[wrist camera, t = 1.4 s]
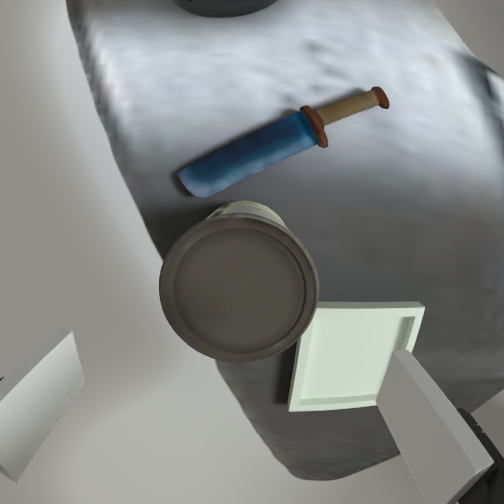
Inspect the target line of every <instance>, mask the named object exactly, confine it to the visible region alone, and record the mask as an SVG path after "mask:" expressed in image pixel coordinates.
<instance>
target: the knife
mask: <svg viewBox="0 0 504 504" xmlns="http://www.w3.org/2000/svg"><path fill="white" fill-rule="evenodd" d="M377 105H379V106H380V107H381V108H384V109H388V108H389V100H388V98H387V96H386V94H385V92H384V91H383V90H382V89H381V88H380V87H373V88H372V89H371V90H370V91H367V92H364V93H361V94H358V95H355V96H353V97H350V98H347V99H344V100H342V101H339V102H336V103H334V104H331V105H329V106H326V107H323V108H321V109H318V110H313V111H312V109H311V108H310V107H309V106H307V105H306V106H303V107H301V108H300V112H298V113H295V114H293V115H291V116H288V117H286V118H284V119H281V120H279V121H277V122H275V123H272V124H270V125H268V126H266V127H264V128H262V129H259V130H257V131H255V132H253V133H251V134H249V135H247V136H245V137H243V138H241V139H239V140H237V141H235V142H233V143H231V144H229V145H227V146H225V147H223V148H221V149H219V150H217V151H215V152H213V153H211V154H209V155H207V156H206V157H204V158H202V159H200V160H198V161H196V162H195V163H193V164H191V165H189V166H188V167H186V168H184V169H183V170H181V171H180V172H178V173H177V174H178V176H179V178H180V180H181V181H182V183H183V184H184V186H185V187H186V188H187V190H188V191H189V192H191V193H192V194H193V195H195V196H196V197H206V196H210V195H213V194H214V193H216V192H218V191H220V190H222V189H224V188H226V187H228V186H230V185H232V184H234V183H236V182H238V181H240V180H242V179H244V178H246V177H248V176H250V175H252V174H254V173H256V172H258V171H260V170H262V169H264V168H266V167H268V166H271V165H273V164H275V163H277V162H279V161H281V160H283V159H285V158H288V157H290V156H292V155H294V154H296V153H299V152H301V151H303V150H305V149H307V148H310V147H312V146H314V145H316V144H318V146H320V147H322V148H326V147H328V140H327V136H326V134H325V132H324V126H326V125H328V124H330V123H333V122H335V121H338V120H340V119H343V118H345V117H348V116H350V115H353V114H356V113H358V112H361V111H364V110H366V109H369V108H372V107H374V106H377Z"/></svg>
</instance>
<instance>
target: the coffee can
mask: <svg viewBox="0 0 504 504" xmlns="http://www.w3.org/2000/svg"><path fill="white" fill-rule="evenodd" d="M159 295H160V301H161V305H162V309H163V312H164V314H165V317H166V319H167V320H168V322H169V324H170V325H171V327H172V328H173V330H174V331H175V332H176V333H177V335H178V336H179V337H180V338H181V339H182V340H183V341H184V342H186V343H187V344H188V345H189V346H190V347H192V348H193V349H195V350H196V351H198V352H200V353H202V354H204V355H206V356H208V357H211V358H214V359H217V360H221V361H226V362H235V363H248V362H256V361H260V360H264V359H267V358H270V357H272V356H275V355H277V354H279V353H281V352H283V351H284V350H286V349H287V348H289V347H290V346H291V345H292V344H294V343H295V342H296V341H297V340H298V339H299V338H300V337H301V336H302V335H303V334H304V332H305V331H306V330H307V328H308V326H309V325H310V323H311V321H312V319H313V317H314V314H315V311H316V309H317V304H318V297H319V281H318V275H317V271H316V268H315V265H314V262H313V260H312V258H311V256H310V254H309V252H308V251H307V249H306V248H305V246H304V245H303V244H302V242H301V241H300V240H299V239H298V238H297V237H296V236H295V235H294V234H293V233H291V232H290V231H289V230H288V228H287V227H286V226H285V224H284V222H283V221H282V219H281V218H280V217H279V216H278V215H277V214H276V213H275V212H274V211H272V210H271V209H270V208H268V207H266V206H264V205H262V204H259V203H256V202H252V201H235V202H231V203H228V204H225V205H223V206H221V207H219V208H218V209H216V210H215V211H214V212H213V213H212V214H211V215H210V216H209V217H207V218H206V219H205V220H203V221H201V222H199V223H197V224H196V225H194V226H192V227H191V228H190V229H188V230H187V231H186V232H185V233H183V234H182V235H181V236H180V237H179V238H178V239H177V240H176V242H175V243H174V244H173V245H172V247H171V248H170V250H169V252H168V253H167V255H166V257H165V259H164V262H163V265H162V268H161V272H160V278H159Z"/></svg>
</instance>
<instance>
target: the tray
mask: <svg viewBox="0 0 504 504" xmlns="http://www.w3.org/2000/svg"><path fill="white" fill-rule="evenodd" d="M424 309H425V307H424V306H423V305H422V304H420V303H419V302H418V301H415V302H322V301H318V304H317V309H316V311H315V314H314V317H313V319H312V321H311V323H310V325H309V326H308V328H307V330H306V331H305V332H304V334H303V335H302V336H301V337H300V338H299V339H298V340H297V347H296V353H295V360H294V366H293V373H292V379H291V385H290V391H289V397H288V409H289V411H317V410H333V409H346V408H356V407H365V406H373V405H377V404H376V402H375V401H376V398H377V396H378V393H379V390H380V388H381V385H382V382H383V379H384V376H385V373H386V370H387V367H388V364H389V361H390V358H391V355H392V352H393V351H400V350H409V352H410V353H412V350H413V347H414V344H415V341H416V338H417V334H418V331H419V328H420V324H421V321H422V317H423V313H424Z"/></svg>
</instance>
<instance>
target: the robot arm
mask: <svg viewBox="0 0 504 504" xmlns="http://www.w3.org/2000/svg"><path fill="white" fill-rule="evenodd" d="M174 1H175V2H176V3H177V4H178V5H179V6H180V7H182V8H183V9H185V10H187V11H189V12H192V13H195V14H198V15H203V16H209V17H234V16H240V15H245V14H249V13H253V12H256V11H259V10H261V9H264V8H266V7H268V6H269V5H271V4H273V3H274V2H275V1H277V0H174ZM85 383H86V381H85V378H84V375H83V371H82V368H81V364H80V360H79V357H78V353H77V349H76V345H75V341H74V337H73V332H72V331H69V330H65V329H60V328H59V329H58V330H56V331H55V332H54V333H53V334H52V335H51V336H49V337H48V338H47V339H46V340H45V341H44V342H43V343H41V344H40V345H39V346H38V347H37V348H36V349H35V350H33V351H32V352H31V353H30V354H29V355H28V356H27V357H26V358H25V359H23V360H22V361H21V362H20V363H19V364H18V365H17V366H16V367H15V368H14V369H13V370H11V372H9V373H8V374H7V375H6V376H5V377H2V378H0V471H1V473H2V474H4V475H5V476H7V477H8V478H9V479H11V480H13V481H14V482H16V483H17V481H18V480H19V478H20V476H21V475H22V473H23V472H24V470H25V468H26V467H27V465H28V464H29V462H30V461H31V459H32V458H33V456H34V455H35V453H36V452H37V450H38V449H39V447H40V446H41V444H42V443H43V441H44V440H45V438H46V437H47V436H48V434H49V433H50V431H51V430H52V428H53V427H54V425H55V424H56V423H57V421H58V420H59V418H60V417H61V415H62V414H63V413H64V411H65V410H66V408H67V407H68V406H69V404H70V403H71V402H72V400H73V399H74V397H75V396H76V395H77V393H78V392H79V391H80V389H81V388H82V387H83V385H84V384H85ZM375 402H376V404H377V406H378V408H379V410H380V412H381V414H382V416H383V418H384V420H385V422H386V424H387V426H388V428H389V430H390V432H391V434H392V436H393V438H394V440H395V442H396V444H397V446H398V448H399V450H400V452H401V455H402V457H403V459H404V461H405V463H406V465H407V467H408V469H409V472H410V474H411V476H412V478H413V480H414V482H415V485H416V487H417V489H418V491H419V494H420V496H421V498H422V500H423V503H424V504H455V503H456V502H457V501H458V502H459V504H504V458H503V457H502V455H501V454H500V453H499V451H498V450H497V448H496V447H495V446H494V444H493V443H492V442H491V440H490V439H489V438H488V436H487V435H486V434H485V433H483V430H482V428H481V427H480V426H479V425H477V424H478V423H477V422H476V421H475V419H474V418H473V417H472V416H471V414H469V413H468V412H466V411H465V410H463V409H462V408H458V409H455V407H454V406H453V405H452V403H451V402H450V401H449V400H448V398H447V397H446V396H445V395H444V393H443V392H442V391H441V389H440V388H439V387H438V386H437V384H436V383H435V382H434V381H433V379H432V378H431V377H430V376H429V375H428V373H427V372H426V371H425V370H424V368H423V367H422V366H421V365H420V364H419V362H418V361H417V360H416V359H415V358H414V356H413V355H412V354H411V353H410V352H409V350H400V351H393V352H392V355H391V358H390V361H389V364H388V367H387V370H386V373H385V376H384V379H383V382H382V385H381V388H380V390H379V393H378V396H377V398H376V401H375Z"/></svg>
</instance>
